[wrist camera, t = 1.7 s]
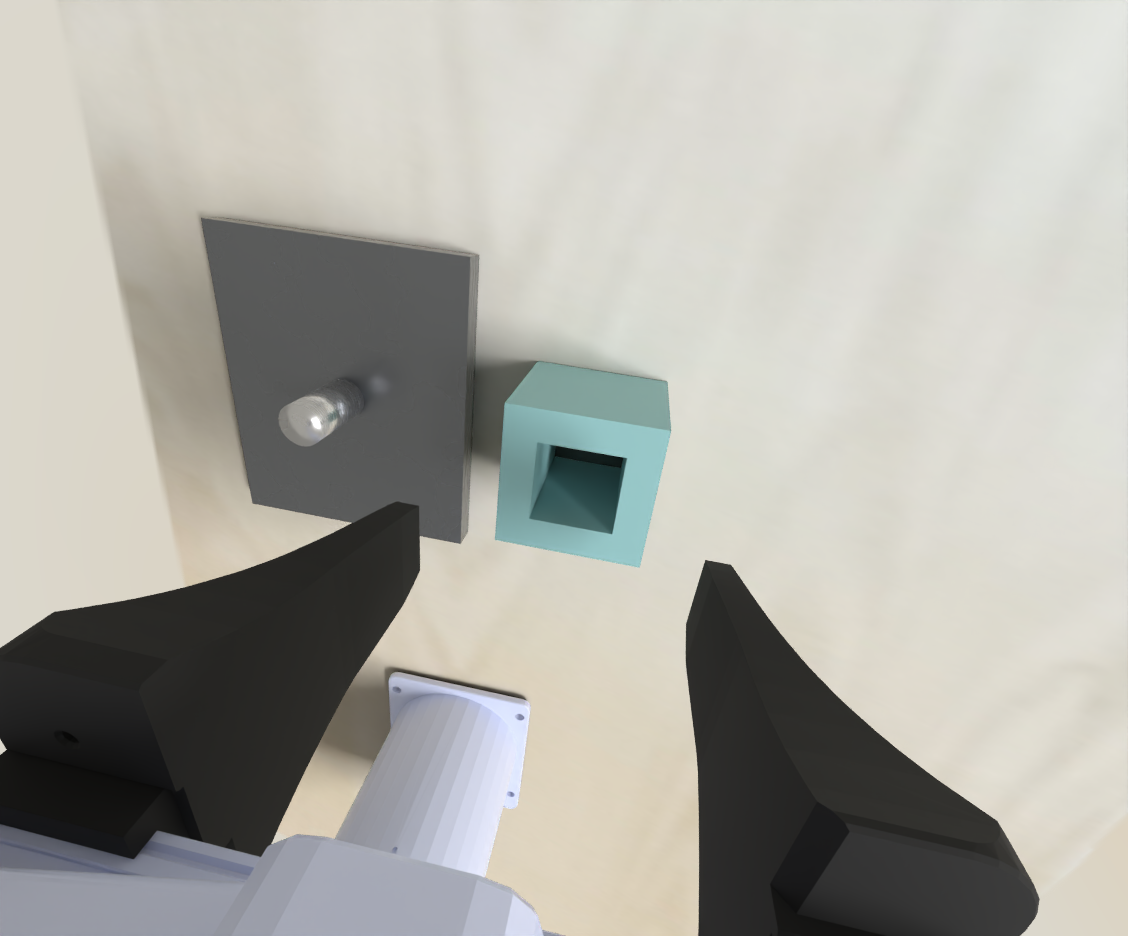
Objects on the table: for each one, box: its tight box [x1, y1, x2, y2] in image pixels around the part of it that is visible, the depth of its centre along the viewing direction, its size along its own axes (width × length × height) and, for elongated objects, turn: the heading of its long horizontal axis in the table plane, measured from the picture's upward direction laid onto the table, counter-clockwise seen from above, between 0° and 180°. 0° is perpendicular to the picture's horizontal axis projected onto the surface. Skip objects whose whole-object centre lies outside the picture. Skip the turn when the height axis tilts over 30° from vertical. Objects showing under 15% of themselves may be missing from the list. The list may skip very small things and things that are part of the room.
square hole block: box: [495, 361, 671, 568], centre depth 19 cm, size 5×5×5 cm
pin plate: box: [201, 218, 479, 544], centre depth 20 cm, size 12×10×4 cm
